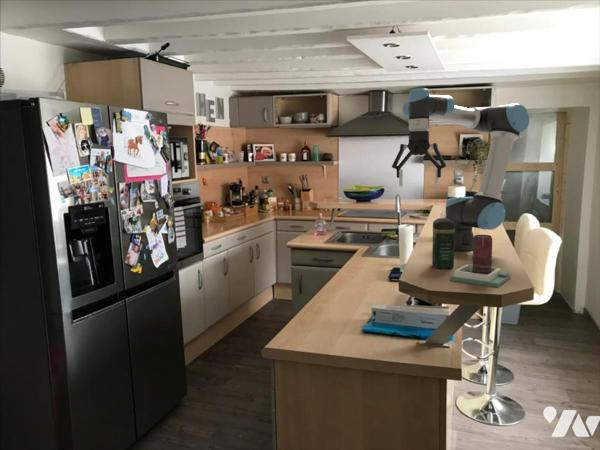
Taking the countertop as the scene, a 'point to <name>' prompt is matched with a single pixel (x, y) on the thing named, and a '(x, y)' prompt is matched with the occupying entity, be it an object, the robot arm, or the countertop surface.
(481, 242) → the can
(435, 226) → the coffee jar
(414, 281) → the countertop surface
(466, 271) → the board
